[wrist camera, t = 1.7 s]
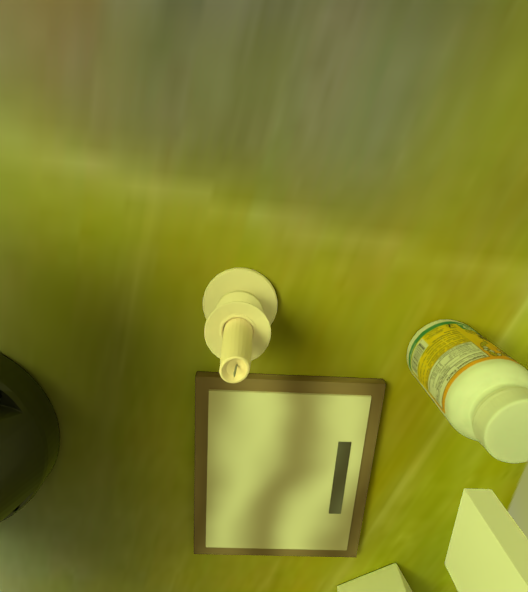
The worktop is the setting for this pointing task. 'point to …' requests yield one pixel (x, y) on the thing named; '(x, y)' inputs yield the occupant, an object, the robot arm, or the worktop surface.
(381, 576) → the milk
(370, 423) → the writing board
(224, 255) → the worktop surface
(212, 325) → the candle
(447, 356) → the supplement bottle
